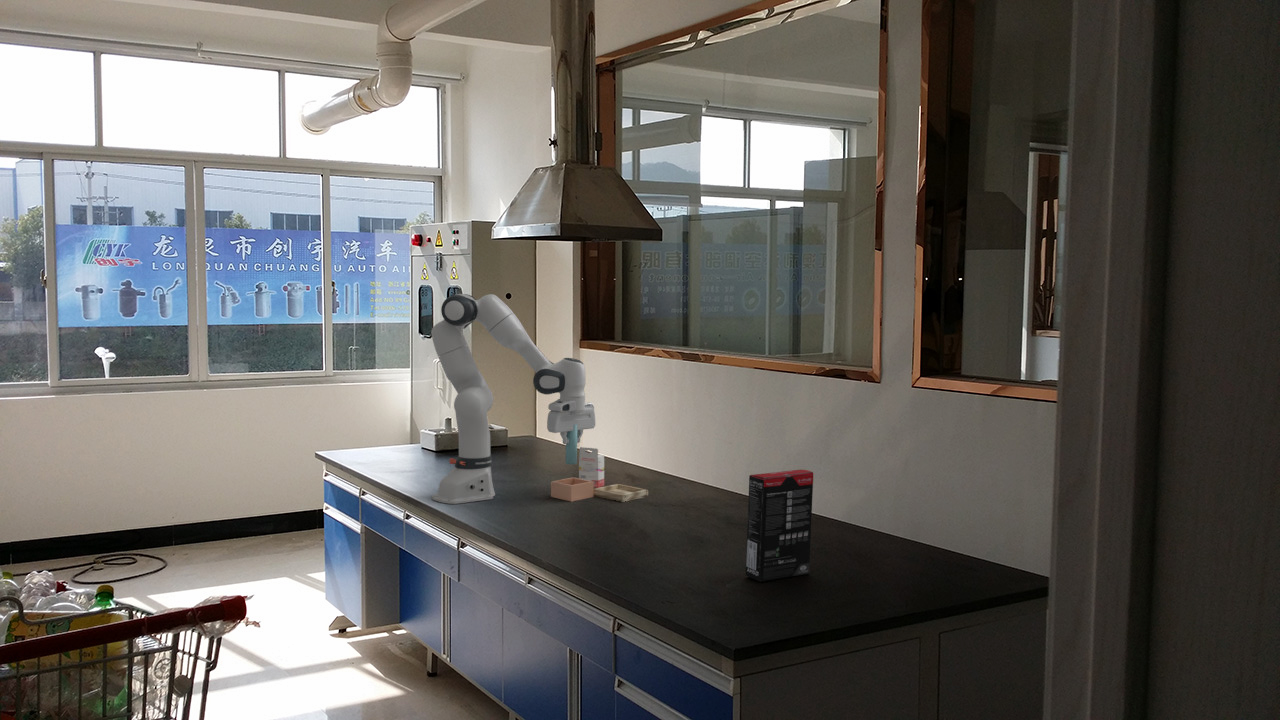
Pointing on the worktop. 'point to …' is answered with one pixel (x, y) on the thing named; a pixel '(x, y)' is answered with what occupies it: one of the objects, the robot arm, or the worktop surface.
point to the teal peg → (571, 446)
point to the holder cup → (572, 489)
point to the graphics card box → (779, 524)
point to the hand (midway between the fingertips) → (571, 443)
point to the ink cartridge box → (591, 466)
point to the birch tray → (620, 492)
